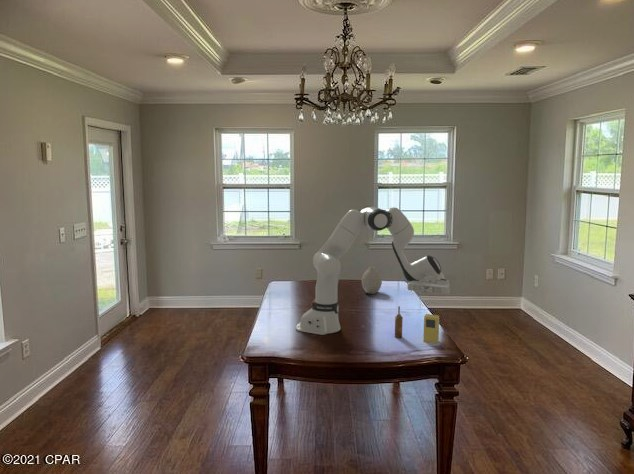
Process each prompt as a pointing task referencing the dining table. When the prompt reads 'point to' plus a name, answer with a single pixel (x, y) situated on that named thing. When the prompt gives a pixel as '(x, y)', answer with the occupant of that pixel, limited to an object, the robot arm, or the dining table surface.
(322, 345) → the dining table surface
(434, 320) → the block
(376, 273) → the vase
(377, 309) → the dining table surface
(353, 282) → the dining table surface
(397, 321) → the awl
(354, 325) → the dining table surface
